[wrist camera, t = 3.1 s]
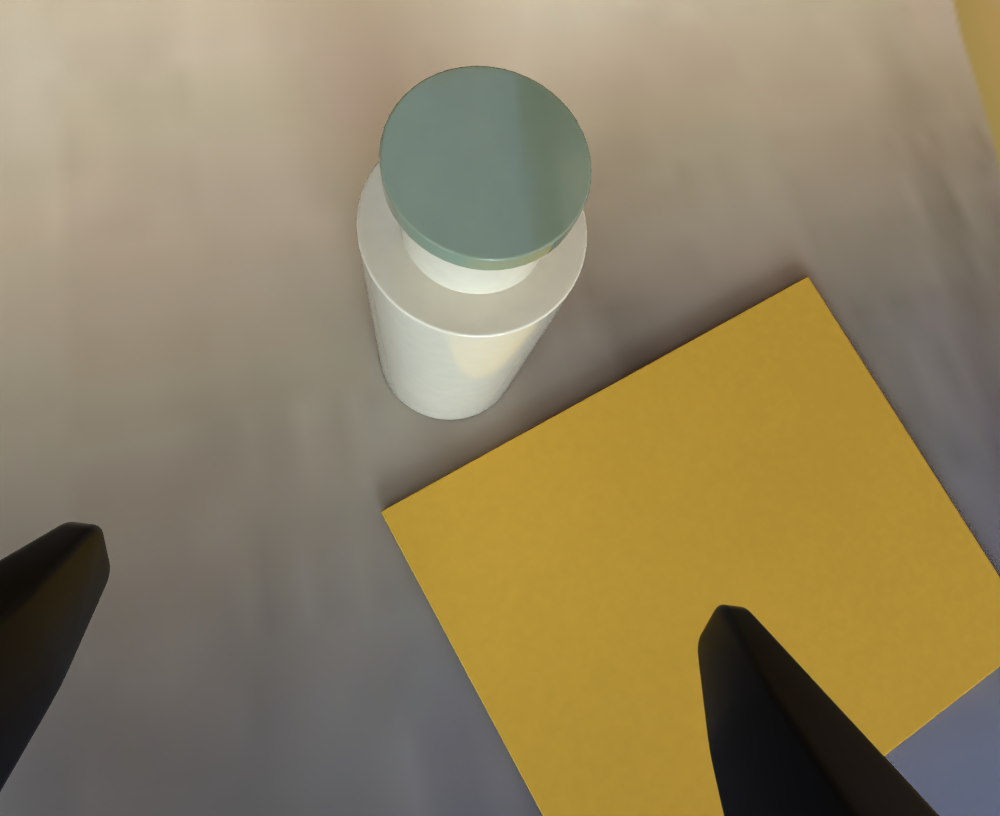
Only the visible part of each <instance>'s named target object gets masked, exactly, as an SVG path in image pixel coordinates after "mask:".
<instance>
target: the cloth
mask: <svg viewBox="0 0 1000 816" xmlns="http://www.w3.org/2000/svg"><path fill="white" fill-rule="evenodd" d="M381 513H382V515H383V517H384V519H385V521H386V523H387V524H388V526H389V528H390V530H391V532H392V534H393V536H394V538H395V539H396V541H397V543H398V545H399V547H400V549H401V551H402V553H403V554H404V556H405V558H406V560H407V562H408V564H409V566H410V568H411V569H412V571H413V573H414V575H415V577H416V579H417V581H418V583H419V584H420V586H421V588H422V590H423V592H424V594H425V596H426V598H427V599H428V601H429V603H430V605H431V607H432V609H433V611H434V613H435V615H436V616H437V618H438V620H439V622H440V624H441V626H442V628H443V630H444V631H445V633H446V635H447V637H448V639H449V641H450V643H451V645H452V646H453V648H454V650H455V652H456V654H457V656H458V658H459V660H460V661H461V663H462V665H463V667H464V669H465V671H466V673H467V675H468V676H469V678H470V680H471V682H472V684H473V686H474V688H475V690H476V691H477V693H478V695H479V697H480V699H481V701H482V703H483V705H484V706H485V708H486V710H487V712H488V714H489V716H490V718H491V720H492V721H493V723H494V725H495V727H496V729H497V731H498V733H499V735H500V736H501V738H502V740H503V742H504V744H505V746H506V748H507V750H508V751H509V753H510V755H511V757H512V759H513V761H514V763H515V765H516V766H517V768H518V770H519V772H520V774H521V776H522V778H523V780H524V781H525V783H526V785H527V787H528V789H529V791H530V793H531V795H532V796H533V798H534V800H535V802H536V804H537V806H538V808H539V810H540V811H541V813H542V815H543V816H724V814H723V809H722V805H721V801H720V796H719V792H718V787H717V783H716V778H715V774H714V769H713V765H712V760H711V755H710V749H709V742H708V735H707V727H706V719H705V710H704V702H703V693H702V685H701V676H700V668H699V660H698V641H699V638H700V635H701V633H702V632H703V630H704V628H705V626H706V624H707V623H708V621H709V619H710V617H711V616H712V614H713V612H714V610H715V609H716V607H718V606H719V605H732V606H740V607H744V608H746V609H748V610H749V611H750V612H751V613H752V614H753V615H754V616H755V617H756V618H757V619H758V620H759V622H760V623H761V624H762V625H763V626H764V627H765V628H766V629H767V630H768V631H769V632H770V633H771V635H772V636H773V637H774V638H775V639H776V640H777V641H778V642H779V643H780V644H781V645H782V646H783V648H784V649H785V650H786V651H787V652H788V653H789V654H790V655H791V656H792V657H793V658H794V659H795V660H796V662H797V663H798V664H799V665H800V666H801V667H802V668H803V669H804V670H805V671H806V672H807V673H808V675H809V676H810V677H811V678H812V679H813V680H814V681H815V682H816V683H817V684H818V685H819V686H820V688H821V689H822V690H823V691H824V692H825V693H826V694H827V695H828V696H829V697H830V698H831V699H832V701H833V702H834V703H835V704H836V705H837V706H838V707H839V708H840V709H841V710H842V711H843V712H844V713H845V715H846V716H847V717H848V718H849V719H850V720H851V721H852V722H853V723H854V724H855V725H856V726H857V728H858V729H859V730H860V731H861V732H862V733H863V734H864V735H865V736H866V737H867V738H868V739H869V741H870V742H871V743H872V744H873V745H874V746H875V747H876V748H877V749H878V750H879V751H880V752H881V754H882V755H883V756H885V755H886V754H888V753H889V752H890V751H891V750H893V749H894V748H895V747H897V746H898V745H899V744H900V743H902V742H903V741H904V740H906V739H907V738H908V737H909V736H911V735H912V734H913V733H915V732H916V731H917V730H918V729H920V728H921V727H922V726H924V725H925V724H926V723H927V722H929V721H930V720H931V719H933V718H934V717H935V716H936V715H938V714H939V713H940V712H942V711H943V710H944V709H945V708H947V707H948V706H949V705H951V704H952V703H953V702H954V701H956V700H957V699H958V698H960V697H961V696H962V695H963V694H965V693H966V692H967V691H969V690H970V689H971V688H972V687H974V686H975V685H976V684H978V683H979V682H980V681H981V680H983V679H984V678H985V677H987V676H988V675H989V674H990V673H992V672H993V671H994V670H996V669H997V668H998V667H999V666H1000V577H999V575H998V574H997V572H996V571H995V569H994V568H993V566H992V564H991V563H990V561H989V560H988V558H987V557H986V555H985V554H984V552H983V550H982V549H981V547H980V546H979V544H978V543H977V541H976V539H975V538H974V536H973V535H972V533H971V532H970V530H969V528H968V527H967V525H966V524H965V522H964V521H963V519H962V517H961V516H960V514H959V513H958V511H957V510H956V508H955V506H954V505H953V503H952V502H951V500H950V499H949V497H948V495H947V494H946V492H945V491H944V489H943V488H942V486H941V484H940V483H939V481H938V480H937V478H936V477H935V475H934V473H933V472H932V470H931V469H930V467H929V466H928V464H927V463H926V461H925V459H924V458H923V456H922V455H921V453H920V452H919V450H918V448H917V447H916V445H915V444H914V442H913V441H912V439H911V437H910V436H909V434H908V433H907V431H906V430H905V428H904V426H903V425H902V423H901V422H900V420H899V419H898V417H897V415H896V414H895V412H894V411H893V409H892V408H891V406H890V404H889V403H888V401H887V400H886V398H885V397H884V395H883V393H882V392H881V390H880V389H879V387H878V386H877V384H876V382H875V381H874V379H873V378H872V376H871V375H870V373H869V372H868V370H867V368H866V367H865V365H864V364H863V362H862V361H861V359H860V357H859V356H858V354H857V353H856V351H855V350H854V348H853V346H852V345H851V343H850V342H849V340H848V339H847V337H846V335H845V334H844V332H843V331H842V329H841V328H840V326H839V324H838V323H837V321H836V320H835V318H834V317H833V315H832V313H831V312H830V310H829V309H828V307H827V306H826V304H825V302H824V301H823V299H822V298H821V296H820V295H819V293H818V291H817V290H816V288H815V287H814V285H813V284H812V282H811V281H810V279H809V277H806V278H804V279H802V280H800V281H798V282H797V283H795V284H793V285H791V286H789V287H788V288H786V289H784V290H782V291H780V292H778V293H777V294H775V295H773V296H771V297H769V298H768V299H766V300H764V301H762V302H760V303H759V304H757V305H755V306H753V307H751V308H749V309H748V310H746V311H744V312H742V313H740V314H739V315H737V316H735V317H733V318H731V319H729V320H728V321H726V322H724V323H722V324H720V325H719V326H717V327H715V328H713V329H711V330H710V331H708V332H706V333H704V334H702V335H700V336H699V337H697V338H695V339H693V340H691V341H690V342H688V343H686V344H684V345H682V346H680V347H679V348H677V349H675V350H673V351H671V352H670V353H668V354H666V355H664V356H662V357H661V358H659V359H657V360H655V361H653V362H651V363H650V364H648V365H646V366H644V367H642V368H641V369H639V370H637V371H635V372H633V373H631V374H630V375H628V376H626V377H624V378H622V379H621V380H619V381H617V382H615V383H613V384H611V385H610V386H608V387H606V388H604V389H602V390H601V391H599V392H597V393H595V394H593V395H592V396H590V397H588V398H586V399H584V400H582V401H581V402H579V403H577V404H575V405H573V406H572V407H570V408H568V409H566V410H564V411H562V412H561V413H559V414H557V415H555V416H553V417H552V418H550V419H548V420H546V421H544V422H543V423H541V424H539V425H537V426H535V427H533V428H532V429H530V430H528V431H526V432H524V433H523V434H521V435H519V436H517V437H515V438H513V439H512V440H510V441H508V442H506V443H504V444H503V445H501V446H499V447H497V448H495V449H494V450H492V451H490V452H488V453H486V454H484V455H483V456H481V457H479V458H477V459H475V460H474V461H472V462H470V463H468V464H466V465H464V466H463V467H461V468H459V469H457V470H455V471H454V472H452V473H450V474H448V475H446V476H445V477H443V478H441V479H439V480H437V481H435V482H434V483H432V484H430V485H428V486H426V487H425V488H423V489H421V490H419V491H417V492H415V493H414V494H412V495H410V496H408V497H406V498H405V499H403V500H401V501H399V502H397V503H395V504H394V505H392V506H390V507H388V508H386V509H385V510H383V511H381Z"/></svg>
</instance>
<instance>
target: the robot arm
mask: <svg viewBox="0 0 1000 816" xmlns="http://www.w3.org/2000/svg"><path fill="white" fill-rule="evenodd" d="M109 572H110V564H109V559H108V554H107V549H106V545H105V540H104V535H103V532H102V529H101V528H100V527H99V526H97V525H93V524H85V523H77V522H67V523H64V524H62V525H60V526H58V527H56V528H55V529H53V530H51V531H50V532H48V533H46V534H45V535H43V536H41V537H39V538H38V539H36V540H34V541H33V542H31V543H29V544H27V545H26V546H24V547H22V548H21V549H19V550H17V551H15V552H14V553H12V554H10V555H9V556H7V557H5V558H3V559H2V560H0V791H1V789H2V788H3V786H4V784H5V782H6V781H7V779H8V777H9V776H10V774H11V772H12V770H13V769H14V767H15V765H16V763H17V762H18V760H19V758H20V756H21V755H22V753H23V751H24V750H25V748H26V746H27V744H28V743H29V741H30V739H31V737H32V736H33V734H34V732H35V730H36V729H37V727H38V725H39V724H40V722H41V720H42V718H43V717H44V715H45V713H46V711H47V710H48V708H49V706H50V704H51V703H52V701H53V699H54V697H55V695H56V694H57V692H58V690H59V688H60V686H61V684H62V682H63V680H64V678H65V676H66V674H67V671H68V669H69V667H70V665H71V663H72V660H73V658H74V656H75V654H76V651H77V649H78V647H79V644H80V642H81V640H82V638H83V635H84V633H85V631H86V629H87V626H88V624H89V622H90V620H91V617H92V615H93V613H94V611H95V608H96V606H97V604H98V601H99V599H100V597H101V595H102V592H103V590H104V588H105V586H106V583H107V581H108V577H109ZM698 660H699V668H700V676H701V685H702V693H703V702H704V710H705V719H706V727H707V735H708V742H709V749H710V755H711V760H712V765H713V769H714V774H715V778H716V783H717V787H718V792H719V796H720V801H721V805H722V809H723V814H724V816H939V815H938V814H937V813H936V812H935V811H934V810H933V809H932V808H931V806H930V805H929V804H928V803H927V802H926V801H925V800H924V799H923V798H922V797H921V796H920V795H919V794H918V792H917V791H916V790H915V789H914V788H913V787H912V786H911V785H910V784H909V783H908V782H907V781H906V779H905V778H904V777H903V776H902V775H901V774H900V773H899V772H898V771H897V770H896V769H895V768H894V766H893V765H892V764H891V763H890V762H889V761H888V760H887V759H886V758H885V757H884V756H883V755H882V754H881V752H880V751H879V750H878V749H877V748H876V747H875V746H874V745H873V744H872V743H871V742H870V741H869V739H868V738H867V737H866V736H865V735H864V734H863V733H862V732H861V731H860V730H859V729H858V728H857V726H856V725H855V724H854V723H853V722H852V721H851V720H850V719H849V718H848V717H847V716H846V715H845V713H844V712H843V711H842V710H841V709H840V708H839V707H838V706H837V705H836V704H835V703H834V702H833V701H832V699H831V698H830V697H829V696H828V695H827V694H826V693H825V692H824V691H823V690H822V689H821V688H820V686H819V685H818V684H817V683H816V682H815V681H814V680H813V679H812V678H811V677H810V676H809V675H808V673H807V672H806V671H805V670H804V669H803V668H802V667H801V666H800V665H799V664H798V663H797V662H796V660H795V659H794V658H793V657H792V656H791V655H790V654H789V653H788V652H787V651H786V650H785V649H784V648H783V646H782V645H781V644H780V643H779V642H778V641H777V640H776V639H775V638H774V637H773V636H772V635H771V633H770V632H769V631H768V630H767V629H766V628H765V627H764V626H763V625H762V624H761V623H760V622H759V620H758V619H757V618H756V617H755V616H754V615H753V614H752V613H751V612H750V611H749V610H748V609H746V608H744V607H740V606H732V605H719V606H718V607H716V609H715V610H714V612H713V614H712V616H711V617H710V619H709V621H708V623H707V624H706V626H705V628H704V630H703V632H702V633H701V635H700V638H699V641H698Z"/></svg>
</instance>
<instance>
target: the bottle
mask: <svg viewBox="0 0 1000 816" xmlns="http://www.w3.org/2000/svg"><path fill="white" fill-rule="evenodd" d="M590 184H591V159H590V153H589V149H588V145H587V142H586V139H585V137H584V134H583V131H582V130H581V128H580V126H579V124H578V122H577V120H576V119H575V117H574V116H573V114H572V113H571V112H570V110H569V109H568V108H567V107H566V106H565V105H564V103H563V102H562V101H561V100H560V99H559V98H558V97H556V96H555V95H554V94H553V93H552V92H551V91H549V90H548V89H546V88H545V87H544V86H542V85H541V84H539V83H537V82H536V81H534V80H532V79H530V78H528V77H526V76H523V75H521V74H518V73H516V72H512V71H509V70H505V69H501V68H495V67H487V66H469V67H460V68H455V69H450V70H446V71H443V72H440V73H437V74H435V75H433V76H431V77H429V78H427V79H425V80H423V81H422V82H420V83H419V84H417V85H416V86H414V87H413V88H412V89H411V90H410V91H409V92H407V93H406V94H405V95H404V96H403V97H402V99H401V100H400V101H399V102H398V103H397V104H396V106H395V108H394V109H393V111H392V112H391V114H390V115H389V117H388V120H387V122H386V124H385V126H384V130H383V133H382V137H381V142H380V150H379V162H378V163H377V164H376V165H375V167H374V168H373V170H372V171H371V173H370V175H369V176H368V178H367V180H366V182H365V185H364V187H363V189H362V192H361V195H360V199H359V203H358V209H357V217H356V232H357V239H358V245H359V251H360V256H361V261H362V267H363V272H364V277H365V283H366V288H367V294H368V299H369V304H370V310H371V315H372V320H373V326H374V331H375V336H376V342H377V347H378V352H379V358H380V363H381V368H382V371H383V374H384V377H385V379H386V381H387V383H388V385H389V386H390V388H391V389H392V391H393V392H394V393H395V395H396V396H397V397H398V398H399V399H400V400H401V401H402V402H403V403H404V404H406V405H407V406H409V407H410V408H411V409H413V410H415V411H417V412H419V413H421V414H423V415H426V416H429V417H433V418H437V419H446V420H451V419H462V418H467V417H470V416H473V415H476V414H478V413H480V412H483V411H484V410H486V409H487V408H489V407H490V406H492V405H493V404H494V403H495V402H497V401H498V399H499V398H500V397H501V396H502V395H503V394H504V392H505V391H506V390H507V388H508V387H509V385H510V384H511V382H512V380H513V379H514V377H515V376H516V374H517V373H518V371H519V370H520V368H521V367H522V365H523V364H524V362H525V360H526V359H527V357H528V356H529V354H530V353H531V351H532V350H533V348H534V347H535V345H536V344H537V342H538V340H539V339H540V337H541V336H542V334H543V333H544V331H545V330H546V328H547V327H548V325H549V324H550V322H551V320H552V319H553V317H554V316H555V314H556V313H557V311H558V310H559V308H560V307H561V305H562V304H563V302H564V300H565V299H566V297H567V296H568V294H569V293H570V291H571V290H572V288H573V287H574V285H575V283H576V281H577V279H578V277H579V275H580V272H581V269H582V266H583V263H584V259H585V254H586V249H587V225H586V218H585V214H584V209H583V208H584V206H585V203H586V200H587V197H588V194H589V189H590Z"/></svg>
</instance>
